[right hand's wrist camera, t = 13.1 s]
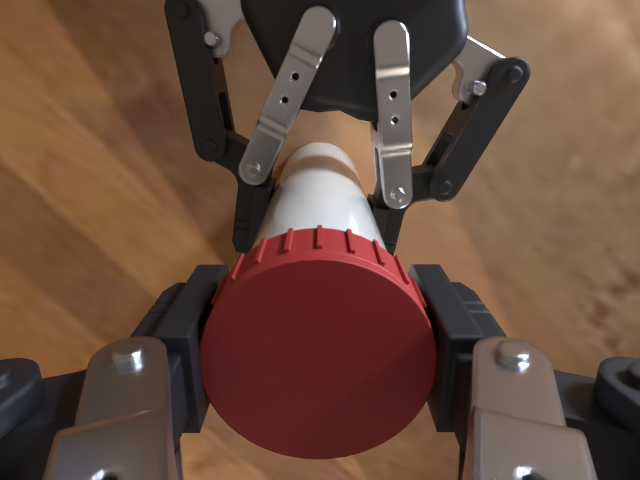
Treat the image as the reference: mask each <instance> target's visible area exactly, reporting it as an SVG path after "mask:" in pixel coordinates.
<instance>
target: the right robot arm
mask: <svg viewBox="0 0 640 480" xmlns="http://www.w3.org/2000/svg"><path fill="white" fill-rule="evenodd" d="M225 274H227V275H229V269H228V266H227V265H198V266H197V267H196V269H195V270H194V272H193V273H192V275H191V276H190V278H189V279H188V281H187V283H176V284H175V285H173V286H171V287H170V288H168V289H167V290H165V291H163V292H162V294H161V295H160V296H159V298H158V299H157V301H156V302H155V305H153V306H152V307H151V309H150V310H149V313H148V314H146V316H145V317H144V318H143V320H142V321H141V322H140V324H139V325H138V327H137V328H136V329H135V331H134V332H133V333H132V335H131V336H130V337H129V338H125V339H121V340H118V341H115V342H113V343H110V344H108V345H106V346H104V347H103V348H101V349H100V350H98V351H97V352H96V353H95V354H94V355H93V356H92V357H91V359H90V361H89V363H88V367H87V369H86V370H83V371H79V372H75V373H70V374H65V375H59V376H54V377H49V378H44V379H42V377H41V373H40V369H39V366H38V364H37V363H36V362H34V361H32V360H29V359H24V358H13V359H5V360H0V480H184V477H183V463H182V453H181V446H180V438H181V435H182V433H200V431H201V428H202V425H203V422H204V419H205V416H206V413H207V410H208V407H209V404H210V400H209V398H208V396H207V395H206V393H205V390H204V383H203V374H202V366H201V357H200V339H201V336H202V332H203V329H204V325H205V323H206V321H207V319H208V317H209V314H210V312H211V310H212V308H213V306H214V305H212V304H211V302H212V300H213V298H214V295H215V293H216V291H217V289H218V287H219V285H220V283H221V281H222V279H223V277H224V275H225ZM408 276H409V278H410V277H412V276H413V278H414V280H415V282H416V284H417V286H418V288H419V290H420V293H421V295H422V297H423V299H424V301H425V303H426V305H427V307H425V308H424V310H425V312H426V315H427V317H428V319H429V321H430V324H431V326H432V328H433V332H434V336H435V340H436V344H437V358H436V367H435V376H434V384H433V387H432V390H431V393H430V395H429V397H428V399H427V403H428V406H429V409H430V412H431V415H432V418H433V421H434V424H435V427H436V430H437V432H454V433H455V435H456V438H457V441H458V443H459V445H460V446H459V453H458V463H457V477H456V480H640V360H639V359H634V358H627V357H613V358H608V359H606V360H604V361H602V362H601V363H600V366H599V369H598V373H597V376H596V378H591V377H586V376H580V375H575V374H570V373H565V372H560V371H556V370H553V367H552V363H551V361H550V359H549V357H548V356H547V355H546V354H545V353H544V352H543V351H542V350H540V349H539V348H537V347H536V346H534V345H532V344H530V343H527V342H525V341H522V340H519V339H515V338H511V337H507V336H506V335H505V333H504V332H503V330H502V329H501V328H500V326H499V325H498V323H497V322H496V321H495V319H494V318H493V316H492V315H491V314H490V313H489V312H488V310H487V308H486V307H485V305H484V304H482V301H481V300H480V298H479V297H478V296H477V294H476V293H475V291H473V290H471V289H470V288H468V287H467V286H465V285H463V284H462V283H460V282H450V280H449V279H448V277H447V275H446V274H445V272H444V271H443V269H442V268H441V266H440V265H439V264H412V265H410V268H409V273H408Z"/></svg>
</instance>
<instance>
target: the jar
mask: <svg viewBox="0 0 640 480" xmlns="http://www.w3.org/2000/svg"><path fill="white" fill-rule="evenodd" d="M317 225H322V228H329V229H337V230H342V231H346V230H347V229H351V230H352V233H353V234H356V235H359V236H362V237H364V238H366V239H368V240H370V241H373V240H374V239H375V240H377V241H378V243H379V246H380V247H382V248H383V249H385V250H386V251H387V249H386V247H385V244H384V242H383V239H382V236H381V234H380V231H379V229H378V226H377V223H376V221H375V218H374V216H373V213H372V210H371V208H370V205H369V203H368V200H367V198H366V195H365V192H364V190H363V187H362V185H361V182H360V179H359V177H358V174H357V172H356V169H355V166H354V164H353V162H352V160H351V159H350V157H349V156H348V155H347V154H346V153H345V152H344V151H343V150H341V149H340V148H338V147H336V146H334V145H332V144H328V143H321V142H318V143H310V144H307V145H304V146H302V147H300V148H299V149H297V150H296V151H295V152H294V153H292V155H291V156H290V157H289V158H288V160H287V161H286V164H285V166H284V168H283V171H282V173H281V175H280V178H279V180H278V183H277V185H276V188H275V190H274V193H273V195H272V198H271V200H270V203H269V205H268V208H267V210H266V213H265V215H264V218H263V220H262V223H261V225H260V228H259V230H258V233H257V235H256V238H255V240H254V243H253V245H252V248H251V250H252V249H253V248H255V247H256V246H258V245H259V244H260V242H261V239H263V238H266V239H267V240H268V239H270V238H273V237H275V236H277V235H280V234H283V233H286V232H288V229H289V228H293V231H294V230H300V229H306V228H317ZM251 250H250V251H251Z"/></svg>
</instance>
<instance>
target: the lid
mask: <svg viewBox="0 0 640 480" xmlns="http://www.w3.org/2000/svg"><path fill="white" fill-rule="evenodd" d="M211 304H212V305H214V306H213V308H212V310H211V312H210V314H209V317H208V319H207V321H206V323H205V325H204V329H203V332H202V336H201V339H200V357H201V366H202V374H203V383H204V390H205V393H206V395H207V396H208V398H209V400H210V402H211V404H212V406H213V407H214V409H215V410H216V411H217V413H218V414H219V416H220V417H221V418H222V419H223V420H224V421H225V422H226V423H227V424H228V425H229V426H230V427H231V428H232V429H234V430H235V431H236V432H237V433H238V434H240V435H241V436H243V437H244V438H246V439H247V440H249V441H250V442H252V443H254V444H256V445H258V446H260V447H262V448H265V449H267V450H270V451H273V452H275V453H279V454H283V455H286V456H291V457H297V458H305V459H332V458H339V457H346V456H350V455H354V454H358V453H361V452H364V451H366V450H369V449H372V448H374V447H376V446H378V445H380V444H382V443H384V442H386V441H387V440H389V439H391V438H392V437H394V436H395V435H397V434H398V433H399V432H400V431H402V430H403V429H404V428H405V427H406V426H407V425H408V424H409V423H410V422H411V421H412V420H413V419H414V418H415V417H416V416H417V414H418V413H419V412H420V410H421V409H422V408H423V406H424V404H425V403H426V401H427V399H428V397H429V395H430V393H431V390H432V387H433V384H434V376H435V367H436V358H437V344H436V340H435V336H434V332H433V328H432V326H431V324H430V321H429V319H428V317H427V315H426V312H425V310H424V308H425V307H427V305H426V303H425V301H424V299H423V297H422V295H421V293H420V290H419V288H418V286H417V284H416V282H415V280H414V278H413V276H412V277H410V278H409V276H408V275H407V273H406V272H405V270H404V268H403V266H402V263H401V261H400V259H399V257H398V256H395V257H393V256H392V255H390V254H389V253H388V252H387V251H386V250H385V249H383V248H382V247H380V246H379V243H378V241H377V240H375V239H374V240H373V241H370V240H368V239H366V238H364V237H362V236H359V235H356V234H353V233H352V230H351V229H347V230H346V231H342V230H337V229H329V228H322V225H317V228H306V229H300V230H294V231H293V228H289V229H288V232H286V233H283V234H280V235H277V236H275V237H273V238H270V239H268V240H267V239H266V238H263V239H261V242H260V244H259V245H258V246H256V247H255V248H253V249H252V250H251V251H250V252H248V253H247V254H246V255H244V254H241V255H240V256H239V258H238V260H237V262H236V264H235V266H234V268H233V269H232V271H231V272H230V274H229V275H227V274H225V275H224V277H223V279H222V281H221V283H220V285H219V287H218V289H217V291H216V293H215V295H214V298H213V300H212V302H211Z"/></svg>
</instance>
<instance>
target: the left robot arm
mask: <svg viewBox="0 0 640 480" xmlns="http://www.w3.org/2000/svg"><path fill="white" fill-rule="evenodd" d="M165 15H166V20H167V24H168V29H169V33H170V38H171V42H172V47H173V51H174V56H175V61H176V65H177V70H178V74H179V79H180V83H181V88H182V92H183V97H184V101H185V106H186V110H187V115H188V119H189V124H190V129H191V133H192V138H193V142H194V147H195V150H196V152H197V154H198V155H199V157H200V158H202V159H203V160H206V161H210V162H213V161H214V162H216V163H218V164H220V165H221V166H223V167H225V168H227V169H229V170H230V171H231V172H232V173H233V174H234V175H235V177H236V179H237V182H238V194H237V203H236V212H235V221H234V230H233V239H232V241H233V244H234V247H235V251H236V252H242V253H246V254H247V253H248V252H250V250H251V248H252V245H253V243H254V240H255V238H256V235H257V233H258V230H259V228H260V225H261V223H262V220H263V218H264V215H265V213H266V210H267V208H268V205H269V203H270V200H271V198H272V195H273V193H274V190H275V183H276V178H272V170H273V165H274V163H275V161H276V159H277V157H278V155H279V153H280V150H281V148H282V146H283V144H284V142H285V140H286V138H287V136H288V133H289V131H290V129H291V127H292V125H293V123H294V121H295V119H296V117H297V114H298V112H299V110H300V109H303V110H309V111H314V112H325V111H336V110H339V111H342V112H344V113H346V114H348V115H350V116H352V117H355V118H357V119H359V120H365V121H370V129H371V139H372V144H373V151H374V163H375V175H376V186H375V191H374V195H370V194H368V198H367V200H368V203H369V205H370V208H371V210H372V213H373V216H374V218H375V221H376V223H377V226H378V229H379V231H380V234H381V236H382V239H383V242H384V244H385V247H386V249H387V252H388V253H389V254H390V255H392V256H393V255H394V251H395V247H396V243H397V239H398V235H399V231H400V227H401V223H402V219H403V215H404V213H405V211H406V210H407V208H408V207H409V206H411V205H412V204H414V203H416V202H420V201H426V200H432V199H436V200H437V201H441V202H446V201H449V200H451V199H453V198H454V197H455V196H456V195H457V193H458V192H459V190H460V189H461V187H462V185H463V184H464V182H465V181H466V179H467V177H468V176H469V174H470V173H471V171H472V169H473V168H474V166H475V165H476V163H477V161H478V160H479V158H480V157H481V155H482V154H483V152H484V150H485V149H486V147H487V146H488V144H489V142H490V141H491V139H492V138H493V136H494V134H495V133H496V131H497V130H498V128H499V126H500V125H501V123H502V122H503V120H504V118H505V117H506V115H507V114H508V112H509V110H510V109H511V107H512V106H513V104H514V102H515V101H516V99H517V98H518V96H519V94H520V93H521V91H522V90H523V88H524V86H525V85H526V83H527V81H528V80H529V77H530V66H529V64H528V62H527V61H526V60H525V59H523V58H521V57H503V56H501V55H500V54H498V53H496V52H495V51H493V50H491V49H489V48H488V47H486V46H484V45H483V44H481V43H479V42H477V41H476V40H474V39H472V38H471V37H469V36H468V20H467V16H466V12H465V0H166V2H165ZM244 23H247V24H248V26H249V28H250V30H251V32H252V34H253V36H254V38H255V40H256V42H257V44H258V46H259V48H260V51H261V53H262V55H263V57H264V59H265V61H266V63H267V65H268V67H269V69H270V71H271V73H272V75H273V77H274V79H275V82H274V84H273V86H272V88H271V91H270V93H269V95H268V98H267V100H266V102H265V104H264V107H263V109H262V111H261V113H260V116H259V118H258V121H257V125H256V128H255V130H254V132H253V134H252V137H251V139H250V140H248V139H246V138H245V137H243V136H241V135H239V134H238V133H236V132H235V127H234V122H233V117H232V111H231V106H230V101H229V95H228V90H227V85H226V79H225V74H224V68H223V63H222V58H226V57H228V56H229V55H230V54H231V53H232V52H233V50H234V47H235V34H236V31H237V29H238V28H239V27H240V26H241V25H242V24H244ZM450 63H452V64H453V65H454V67H455V70H456V77H455V81H454V83H453V86H452V93H453V96H454V98H455V99H456V100H457V101H458V103H457V105H456V107H455V108H454V110H453V112H452V113H451V115H450V117H449V119H448V120H447V122H446V124H445V126H444V127H443V129H442V131H441V132H440V134H439V136H438V138H437V139H436V141H435V143H434V144H433V146H432V148H431V150H430V151H429V153H428V155H427V156H426V158H425V160H424V162H423V163H422V165H419V166H413V167H412V166H411V150H412V145H413V139H412V120H411V100H413V99H414V98H415V97H416V96H417V95H418V94H419V93H420V92H421V91H422V90H423V89H424V88H425V87H426V86H427V85H428V84H429V83H430V82H431V81H432V80H433V79H435V78H436V77H437V76H438V75H439V74H440V73H441V72H442V71H443V70H444V69H445V68H446V67H447V66H448V65H449V64H450Z"/></svg>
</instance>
